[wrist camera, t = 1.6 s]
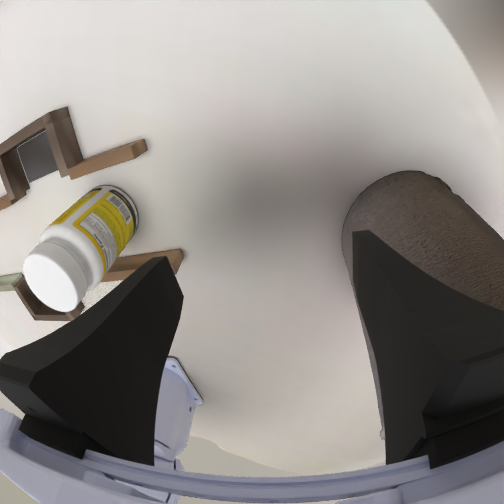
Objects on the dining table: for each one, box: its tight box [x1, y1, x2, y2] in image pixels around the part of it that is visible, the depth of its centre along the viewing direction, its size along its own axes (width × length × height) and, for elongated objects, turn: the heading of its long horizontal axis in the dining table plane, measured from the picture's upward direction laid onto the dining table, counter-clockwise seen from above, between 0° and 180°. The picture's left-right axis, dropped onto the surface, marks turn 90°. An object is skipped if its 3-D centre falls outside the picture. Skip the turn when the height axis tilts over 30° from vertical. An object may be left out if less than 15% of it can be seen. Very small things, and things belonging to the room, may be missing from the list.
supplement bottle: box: [23, 186, 138, 312], centre depth 17 cm, size 5×5×8 cm
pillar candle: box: [342, 171, 504, 440], centre depth 13 cm, size 10×10×15 cm
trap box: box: [0, 107, 183, 321], centre depth 21 cm, size 18×32×2 cm, turn 101°
